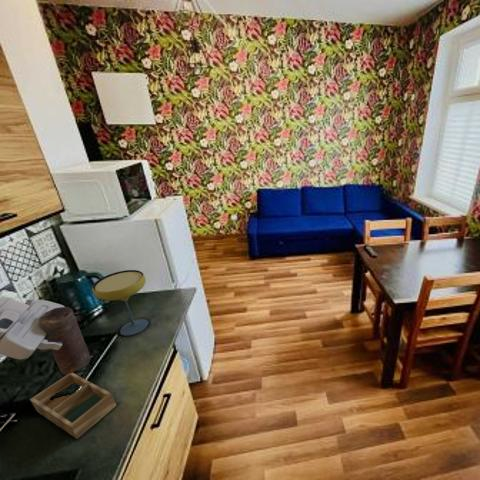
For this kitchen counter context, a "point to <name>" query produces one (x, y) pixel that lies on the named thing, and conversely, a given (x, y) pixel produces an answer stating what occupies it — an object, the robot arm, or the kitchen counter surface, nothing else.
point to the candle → (65, 339)
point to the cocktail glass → (122, 294)
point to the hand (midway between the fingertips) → (67, 336)
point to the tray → (74, 405)
